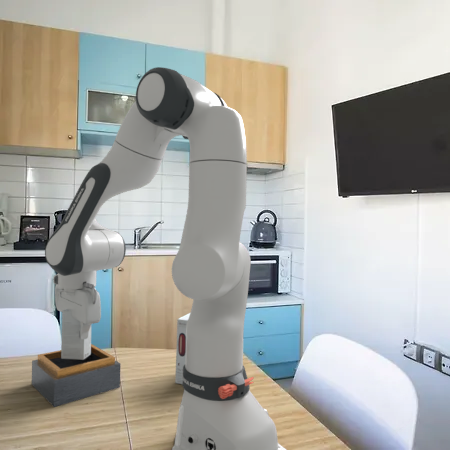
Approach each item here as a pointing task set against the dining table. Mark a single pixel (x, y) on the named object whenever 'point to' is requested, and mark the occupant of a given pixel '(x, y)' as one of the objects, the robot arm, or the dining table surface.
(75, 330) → the skincare box
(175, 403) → the dining table surface
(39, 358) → the grey open box
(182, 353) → the supplement box
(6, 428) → the dining table surface
